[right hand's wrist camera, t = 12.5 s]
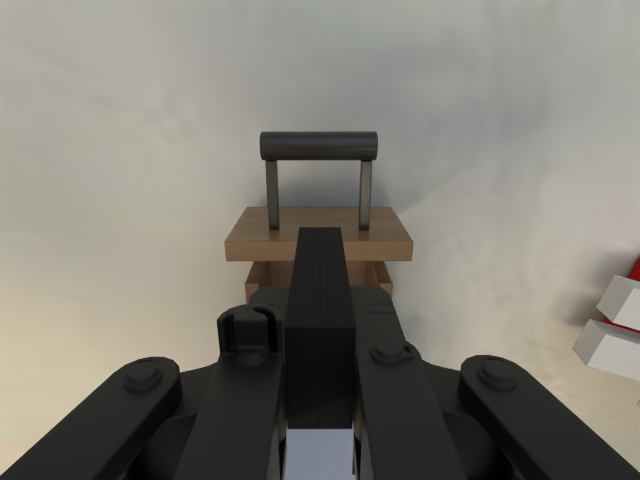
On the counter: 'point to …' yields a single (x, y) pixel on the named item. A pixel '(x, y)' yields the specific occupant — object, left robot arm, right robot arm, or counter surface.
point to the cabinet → (319, 454)
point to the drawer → (318, 216)
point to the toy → (615, 330)
